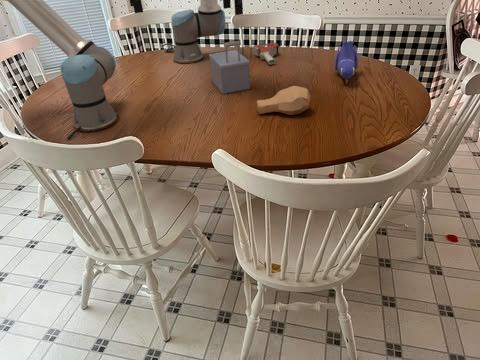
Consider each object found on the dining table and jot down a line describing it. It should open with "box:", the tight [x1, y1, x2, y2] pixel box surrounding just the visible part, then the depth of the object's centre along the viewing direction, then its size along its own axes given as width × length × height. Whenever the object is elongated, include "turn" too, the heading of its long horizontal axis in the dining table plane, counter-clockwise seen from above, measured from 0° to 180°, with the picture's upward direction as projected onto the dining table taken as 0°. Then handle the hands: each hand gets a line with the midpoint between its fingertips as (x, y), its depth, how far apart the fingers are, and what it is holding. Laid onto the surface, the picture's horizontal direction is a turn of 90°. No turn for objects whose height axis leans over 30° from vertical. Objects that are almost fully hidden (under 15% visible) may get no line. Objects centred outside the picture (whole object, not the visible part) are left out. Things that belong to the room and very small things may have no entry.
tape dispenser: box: [252, 42, 280, 66], centre depth 182 cm, size 18×5×20 cm
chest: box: [208, 56, 251, 95], centre depth 154 cm, size 17×12×11 cm
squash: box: [255, 85, 312, 116], centre depth 130 cm, size 11×20×9 cm, turn 92°
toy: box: [334, 40, 359, 85], centre depth 152 cm, size 10×17×25 cm
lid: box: [208, 40, 251, 69], centre depth 148 cm, size 17×12×9 cm
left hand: (136, 9), depth 122 cm, fingers open, 13 cm apart
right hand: (232, 11), depth 131 cm, fingers open, 13 cm apart
